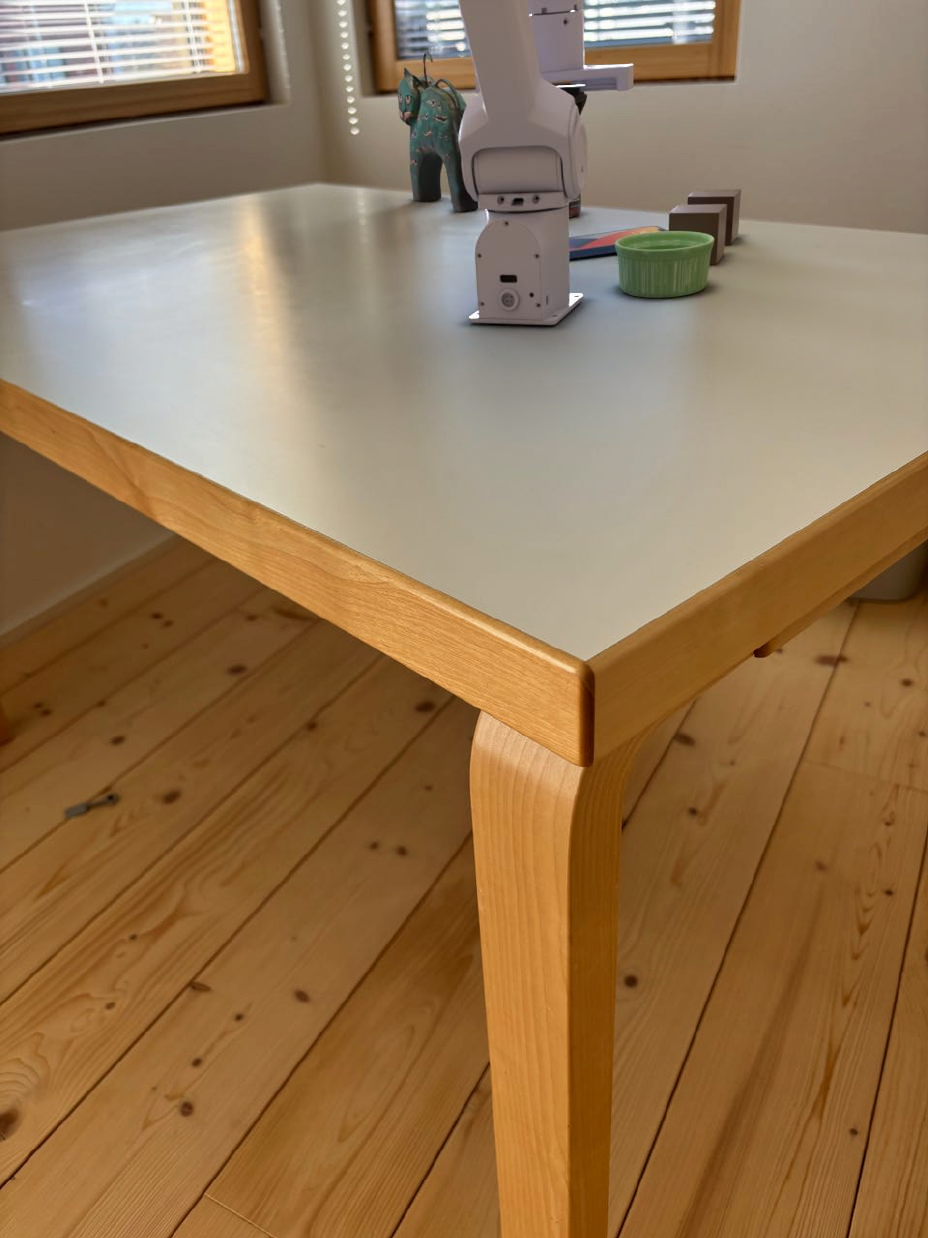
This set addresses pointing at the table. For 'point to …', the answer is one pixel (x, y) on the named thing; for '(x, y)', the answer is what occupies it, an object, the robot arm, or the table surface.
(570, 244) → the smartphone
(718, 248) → the walnut block near
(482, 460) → the table surface
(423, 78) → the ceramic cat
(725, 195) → the walnut block far
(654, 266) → the ramekin
